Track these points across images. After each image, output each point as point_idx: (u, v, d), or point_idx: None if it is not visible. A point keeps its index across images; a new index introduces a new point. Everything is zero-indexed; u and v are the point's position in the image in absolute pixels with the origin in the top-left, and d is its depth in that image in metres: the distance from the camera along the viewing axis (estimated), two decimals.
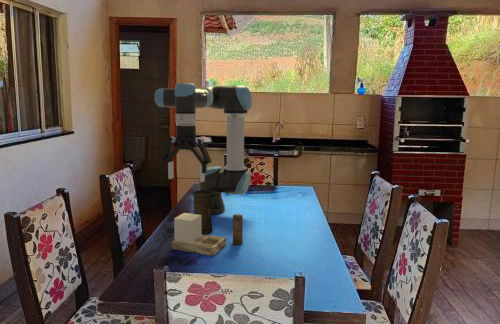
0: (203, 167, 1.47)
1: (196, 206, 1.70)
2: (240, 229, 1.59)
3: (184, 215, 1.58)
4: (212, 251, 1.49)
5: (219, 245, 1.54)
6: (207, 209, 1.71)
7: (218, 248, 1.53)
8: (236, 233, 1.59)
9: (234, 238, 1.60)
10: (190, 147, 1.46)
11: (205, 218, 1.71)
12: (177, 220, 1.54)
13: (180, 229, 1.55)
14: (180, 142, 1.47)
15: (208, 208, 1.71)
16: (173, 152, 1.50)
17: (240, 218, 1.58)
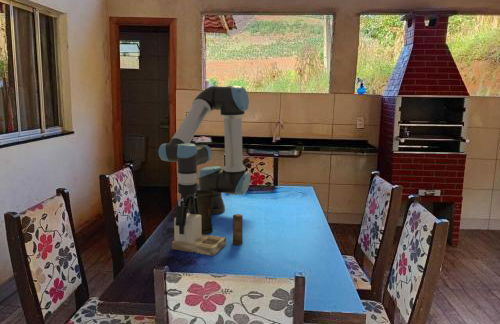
0: None
1: None
2: (240, 229, 1.59)
3: None
4: (212, 251, 1.49)
5: (219, 245, 1.54)
6: (207, 209, 1.71)
7: (218, 248, 1.53)
8: (236, 233, 1.59)
9: (234, 238, 1.60)
10: None
11: (205, 218, 1.71)
12: None
13: None
14: None
15: (208, 208, 1.71)
16: None
17: (240, 218, 1.58)
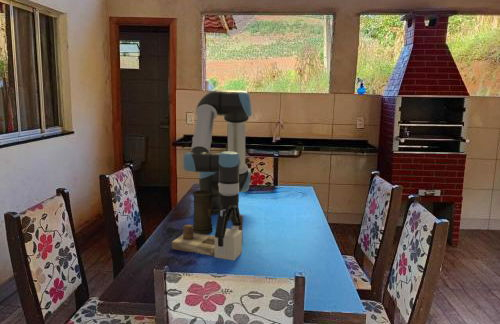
0: None
1: (196, 206, 1.70)
2: (240, 229, 1.59)
3: None
4: (212, 251, 1.49)
5: None
6: (207, 209, 1.71)
7: None
8: None
9: None
10: None
11: (205, 218, 1.71)
12: None
13: None
14: None
15: (208, 208, 1.71)
16: None
17: None
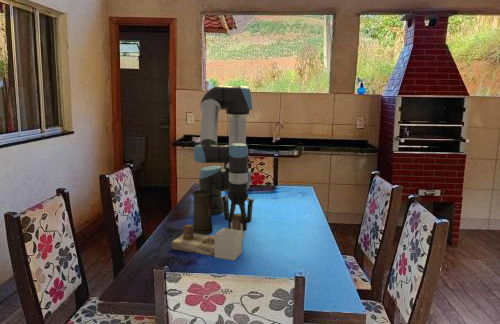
0: (244, 225, 1.59)
1: (196, 206, 1.70)
2: (240, 229, 1.59)
3: (224, 231, 1.50)
4: (212, 251, 1.49)
5: None
6: (207, 209, 1.71)
7: None
8: None
9: None
10: (240, 204, 1.57)
11: (205, 218, 1.71)
12: (218, 236, 1.46)
13: (221, 246, 1.46)
14: (233, 198, 1.57)
15: (208, 208, 1.71)
16: (231, 210, 1.59)
17: (240, 218, 1.58)
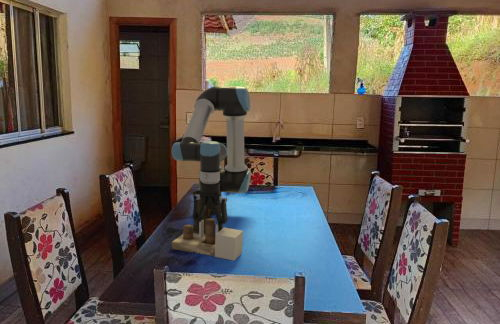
0: (219, 226, 1.52)
1: None
2: (213, 234, 1.53)
3: (225, 231, 1.50)
4: (212, 251, 1.49)
5: None
6: (207, 209, 1.71)
7: None
8: (208, 238, 1.53)
9: (206, 243, 1.54)
10: (213, 205, 1.50)
11: (205, 218, 1.71)
12: (219, 236, 1.46)
13: (221, 246, 1.46)
14: (205, 198, 1.51)
15: (208, 208, 1.71)
16: (201, 210, 1.53)
17: (212, 223, 1.52)
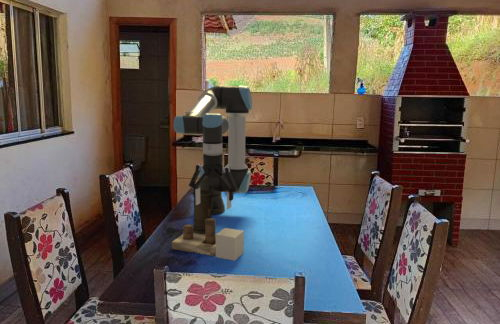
0: (230, 194, 1.51)
1: (196, 206, 1.70)
2: (213, 234, 1.53)
3: (225, 231, 1.50)
4: (212, 251, 1.49)
5: None
6: (207, 209, 1.71)
7: None
8: (208, 238, 1.53)
9: (206, 243, 1.54)
10: (217, 175, 1.51)
11: (205, 218, 1.71)
12: (219, 236, 1.46)
13: (221, 246, 1.46)
14: (207, 170, 1.51)
15: (208, 208, 1.71)
16: (200, 179, 1.54)
17: (212, 223, 1.52)
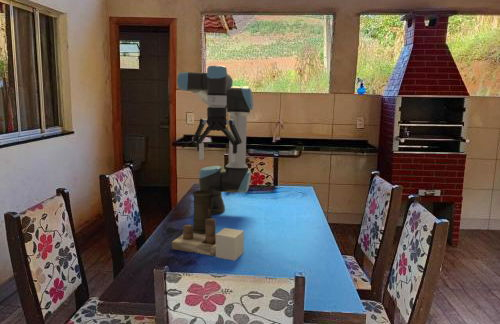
0: (234, 147, 1.51)
1: (196, 206, 1.70)
2: (213, 234, 1.53)
3: (225, 231, 1.50)
4: (212, 251, 1.49)
5: None
6: (207, 209, 1.71)
7: None
8: (208, 238, 1.53)
9: (206, 243, 1.54)
10: (221, 128, 1.51)
11: (205, 218, 1.71)
12: (219, 236, 1.46)
13: (221, 246, 1.46)
14: (211, 123, 1.51)
15: (208, 208, 1.71)
16: (204, 133, 1.54)
17: (212, 222, 1.52)
